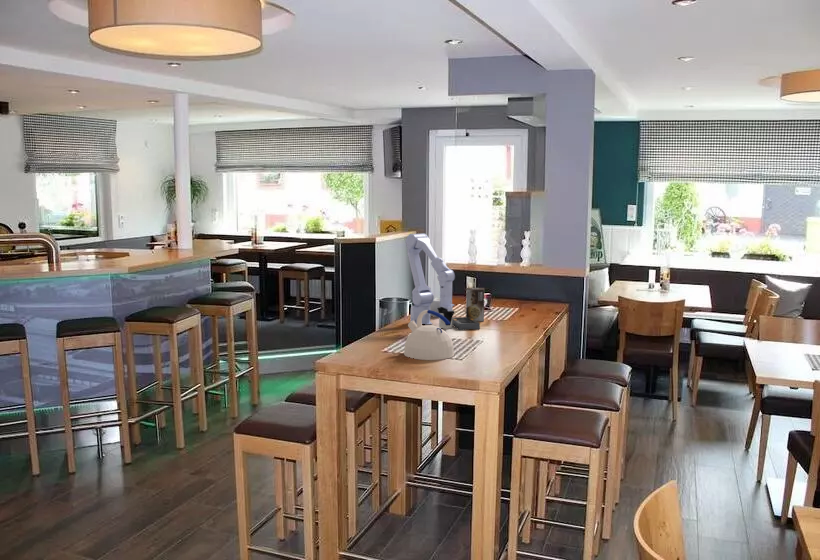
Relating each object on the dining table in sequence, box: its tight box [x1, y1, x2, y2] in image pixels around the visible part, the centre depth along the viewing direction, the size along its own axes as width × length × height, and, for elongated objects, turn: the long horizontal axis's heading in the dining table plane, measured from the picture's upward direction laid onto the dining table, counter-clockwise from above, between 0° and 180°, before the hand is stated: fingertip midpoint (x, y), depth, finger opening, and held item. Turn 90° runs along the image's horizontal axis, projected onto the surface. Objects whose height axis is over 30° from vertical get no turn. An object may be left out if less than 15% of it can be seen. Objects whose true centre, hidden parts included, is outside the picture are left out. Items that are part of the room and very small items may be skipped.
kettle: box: [403, 310, 455, 361], centre depth 285 cm, size 20×21×18 cm
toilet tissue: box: [430, 297, 454, 318], centre depth 372 cm, size 9×13×9 cm
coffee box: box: [465, 287, 485, 322], centre depth 359 cm, size 9×6×16 cm
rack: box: [452, 316, 481, 331], centre depth 344 cm, size 10×16×3 cm, turn 13°
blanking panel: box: [438, 313, 453, 329], centre depth 339 cm, size 6×2×7 cm, turn 103°
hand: (445, 323), depth 339 cm, fingers open, 7 cm apart
